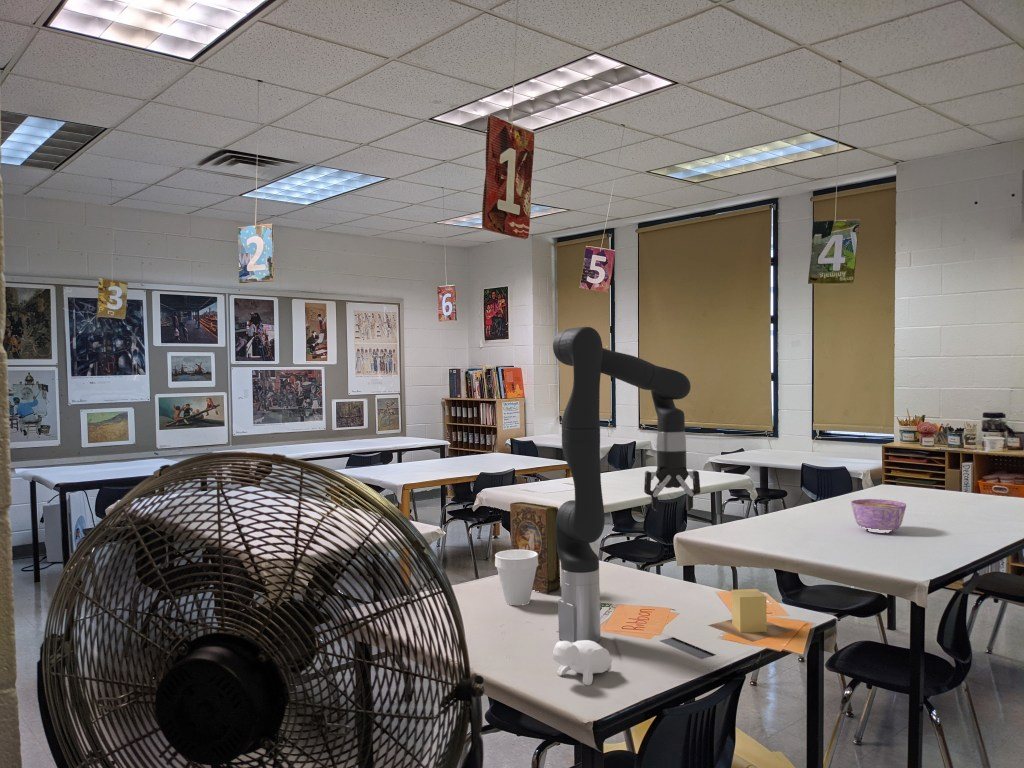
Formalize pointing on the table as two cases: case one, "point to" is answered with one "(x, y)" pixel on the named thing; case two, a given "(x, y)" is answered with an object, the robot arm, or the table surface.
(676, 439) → the robot arm
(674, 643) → the mat
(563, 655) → the white animal figurine
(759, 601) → the yellow block
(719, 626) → the board
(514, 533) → the book
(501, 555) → the cup
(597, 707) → the table surface
